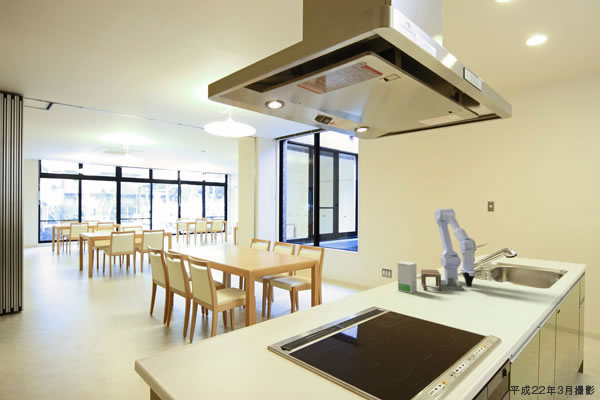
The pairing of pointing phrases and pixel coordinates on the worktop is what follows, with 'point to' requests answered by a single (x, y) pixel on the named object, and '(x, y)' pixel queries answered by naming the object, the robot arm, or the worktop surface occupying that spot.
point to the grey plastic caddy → (451, 284)
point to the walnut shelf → (430, 274)
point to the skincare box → (407, 277)
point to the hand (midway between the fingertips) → (468, 286)
